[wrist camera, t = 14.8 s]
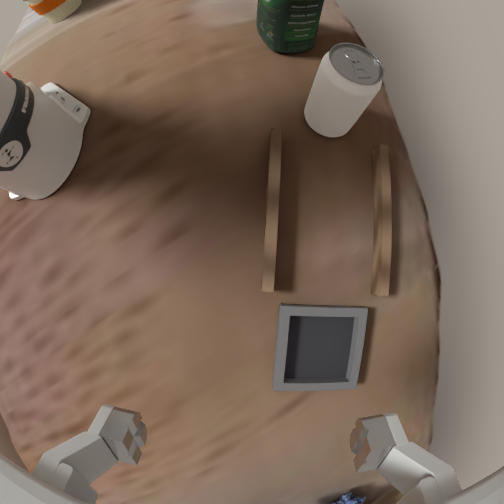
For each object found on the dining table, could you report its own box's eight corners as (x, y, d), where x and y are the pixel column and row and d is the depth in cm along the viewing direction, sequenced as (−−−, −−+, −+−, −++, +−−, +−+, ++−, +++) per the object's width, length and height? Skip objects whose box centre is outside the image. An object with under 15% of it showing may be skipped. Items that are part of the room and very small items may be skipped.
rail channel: (379, 293, 31) (388, 296, 29) (260, 289, 31) (261, 291, 29) (379, 152, 32) (387, 145, 30) (270, 137, 32) (271, 128, 30)
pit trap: (351, 383, 31) (355, 388, 29) (272, 384, 31) (273, 390, 29) (362, 306, 31) (367, 308, 29) (279, 303, 31) (281, 305, 29)
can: (340, 95, 32) (370, 40, 20) (358, 135, 32) (398, 87, 20) (296, 100, 32) (314, 40, 20) (312, 142, 32) (340, 90, 20)
